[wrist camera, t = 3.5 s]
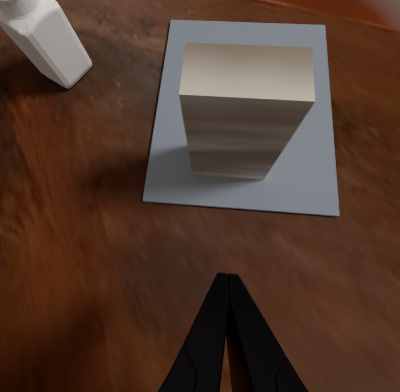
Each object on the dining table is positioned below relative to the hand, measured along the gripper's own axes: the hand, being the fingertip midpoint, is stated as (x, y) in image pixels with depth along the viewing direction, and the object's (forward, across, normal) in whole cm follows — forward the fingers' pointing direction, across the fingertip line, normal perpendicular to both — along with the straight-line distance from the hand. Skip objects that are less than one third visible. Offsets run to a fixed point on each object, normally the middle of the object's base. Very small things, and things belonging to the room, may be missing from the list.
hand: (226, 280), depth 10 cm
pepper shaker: (+20, +16, -6) cm, 26 cm away
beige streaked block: (+13, 0, 0) cm, 13 cm away
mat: (+17, -2, -4) cm, 18 cm away
